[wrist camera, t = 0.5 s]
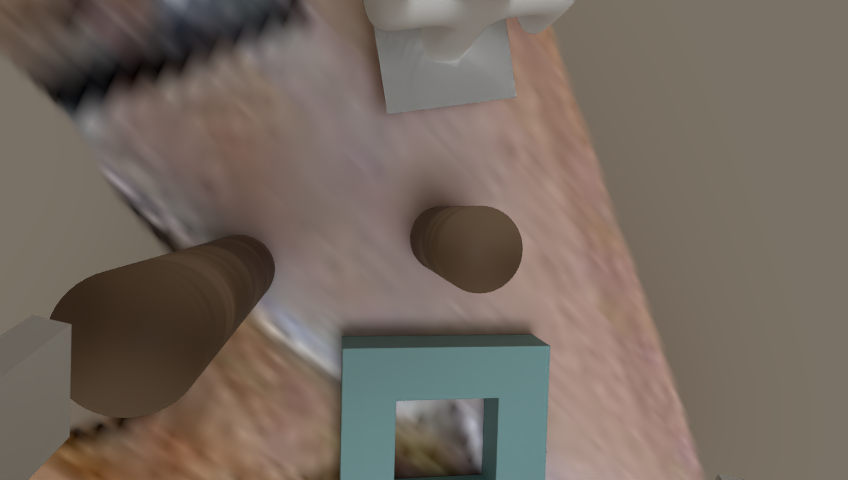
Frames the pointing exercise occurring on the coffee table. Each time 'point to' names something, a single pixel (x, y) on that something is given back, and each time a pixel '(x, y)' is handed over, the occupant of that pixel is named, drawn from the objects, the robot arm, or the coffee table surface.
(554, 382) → the coffee table surface
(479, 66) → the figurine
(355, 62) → the coffee table surface
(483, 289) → the short dowel
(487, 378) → the teal square frame
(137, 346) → the long dowel
